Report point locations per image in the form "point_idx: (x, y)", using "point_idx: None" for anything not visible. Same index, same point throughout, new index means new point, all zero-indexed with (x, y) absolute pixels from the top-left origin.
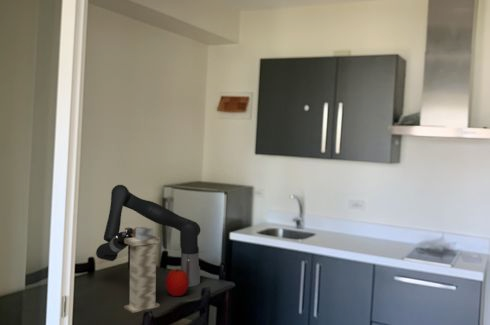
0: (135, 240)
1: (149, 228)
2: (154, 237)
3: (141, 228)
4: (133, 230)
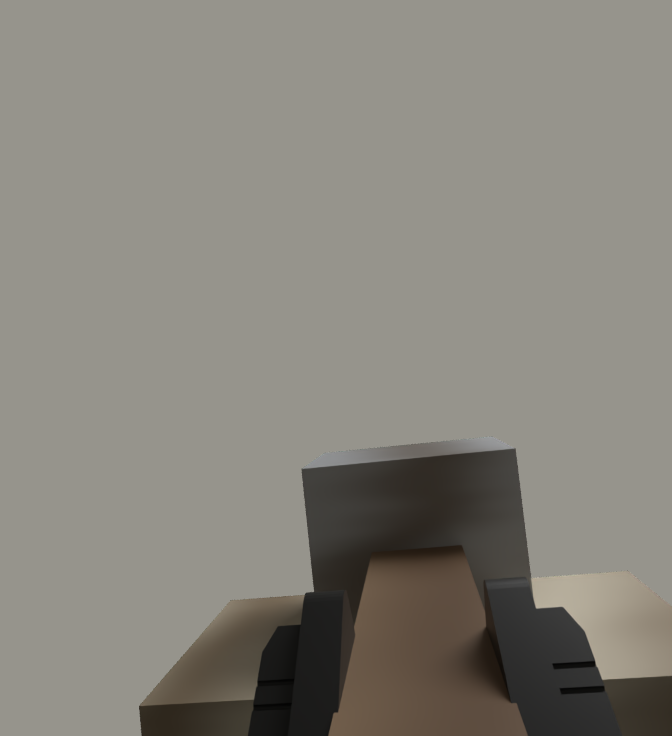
0: (572, 593)
1: (364, 450)
2: (254, 623)
3: (452, 446)
4: (458, 630)
